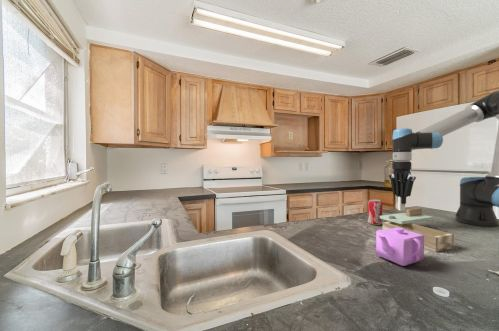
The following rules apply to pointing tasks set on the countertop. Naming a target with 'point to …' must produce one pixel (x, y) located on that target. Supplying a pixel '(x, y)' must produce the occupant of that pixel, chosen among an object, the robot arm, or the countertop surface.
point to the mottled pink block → (400, 246)
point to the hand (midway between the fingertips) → (401, 210)
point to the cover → (407, 216)
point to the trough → (426, 235)
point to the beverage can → (374, 212)
